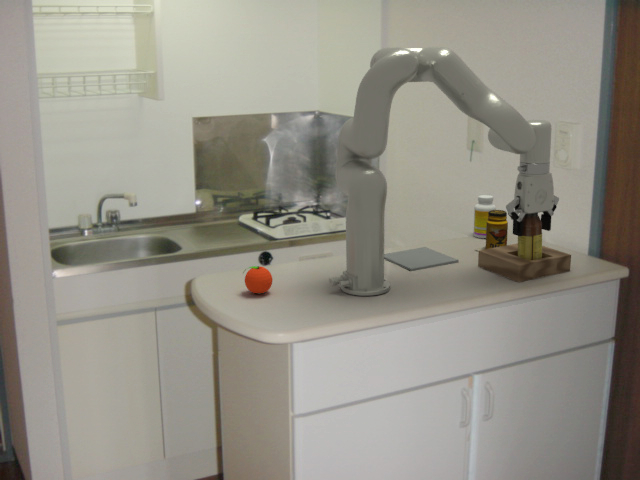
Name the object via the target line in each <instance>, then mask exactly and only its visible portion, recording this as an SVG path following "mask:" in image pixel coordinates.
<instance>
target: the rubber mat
mask: <svg viewBox="0 0 640 480" xmlns="http://www.w3.org/2000/svg"><path fill="white" fill-rule="evenodd" d="M385 260H386V261H388V262H391V263H392V264H394V265H397V266H399V267H401V268H403V269H405V270H408V271H410V272H412V271H419V270H424V269H429V268H434V267H439V266H446V265H451V264H455V263H459V259H457V258H454V257H451V256H449V255H447V254H446V253H441V252H440V251H436V250H434V249H431V248H429V247H426V246H423V247H416V248H411V249H406V250H400V251H394V252H389V253H388V252H387V253H384V261H385Z"/></svg>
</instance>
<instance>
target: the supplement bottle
mask: <svg viewBox="0 0 640 480" xmlns="http://www.w3.org/2000/svg"><path fill="white" fill-rule="evenodd" d="M477 201H478V202H477V203H476V204H475V205H474V209H473V212H474V213H473V236H474V237H475V238H477V237H478V238H479V239H484V238H486V225H487V220H488V215H489V214H488V212H489V211H491V210H497V206H496V205H495V204H494V203H493V201H494V196H493V195H490V194H489V195H488V194H481V195H478V196H477Z"/></svg>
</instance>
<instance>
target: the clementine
mask: <svg viewBox="0 0 640 480" xmlns="http://www.w3.org/2000/svg"><path fill="white" fill-rule="evenodd" d="M247 269H249V270H247ZM246 270H247V272H246V274H245V277H244V285H245V287H246V288H247V290H248V291H249V292H251V293H252V292H253V293H252V294H254V293H263V294H265V293H266V292H268V291H269V290H270V289H271V287H272V285H273V279H274V278H273V275H272V273H271V272H270V270H269V269H268V268H266V267H265V266H256V265H255V266H254V265H252V266H248V267H247V268H245V269H244V270H243V272H242V274H244V273H245V271H246ZM264 292H265V293H264Z"/></svg>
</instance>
